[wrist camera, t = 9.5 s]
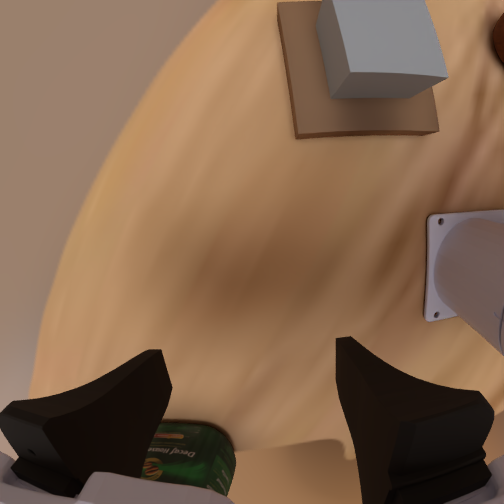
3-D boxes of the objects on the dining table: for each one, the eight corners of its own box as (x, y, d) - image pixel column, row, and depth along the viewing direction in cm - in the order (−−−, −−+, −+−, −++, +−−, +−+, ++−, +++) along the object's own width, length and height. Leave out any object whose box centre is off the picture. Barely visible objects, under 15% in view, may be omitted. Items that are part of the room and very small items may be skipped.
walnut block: (396, 25, 16) (410, 8, 13) (419, 136, 18) (439, 131, 15) (277, 23, 17) (277, 2, 14) (295, 140, 19) (298, 133, 16)
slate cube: (391, 27, 14) (421, -8, 9) (409, 98, 15) (448, 77, 10) (315, 25, 15) (326, -17, 10) (330, 99, 16) (350, 72, 11)
